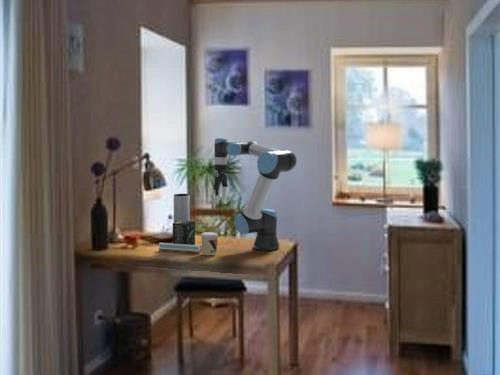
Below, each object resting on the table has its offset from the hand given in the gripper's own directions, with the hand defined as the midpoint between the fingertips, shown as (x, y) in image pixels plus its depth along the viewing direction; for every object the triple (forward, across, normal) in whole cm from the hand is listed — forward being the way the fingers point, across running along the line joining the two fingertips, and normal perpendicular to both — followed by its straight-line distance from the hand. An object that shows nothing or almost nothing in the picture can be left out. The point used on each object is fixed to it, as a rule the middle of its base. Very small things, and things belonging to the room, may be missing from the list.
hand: (220, 199), depth 399 cm
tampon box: (+25, +23, -15) cm, 37 cm away
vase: (+27, -8, -28) cm, 40 cm away
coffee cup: (+27, +31, +3) cm, 41 cm away
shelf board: (+27, +24, -15) cm, 39 cm away
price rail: (+25, +31, -15) cm, 43 cm away
